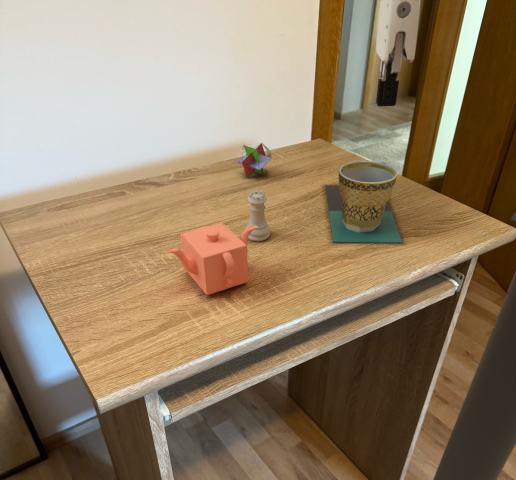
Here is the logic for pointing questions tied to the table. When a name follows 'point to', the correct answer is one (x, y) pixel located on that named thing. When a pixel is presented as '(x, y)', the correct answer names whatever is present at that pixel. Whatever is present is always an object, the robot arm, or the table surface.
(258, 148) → the geometric puzzle
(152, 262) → the table surface
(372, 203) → the ceramic cup
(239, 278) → the teapot
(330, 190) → the plate
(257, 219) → the rook chess piece
